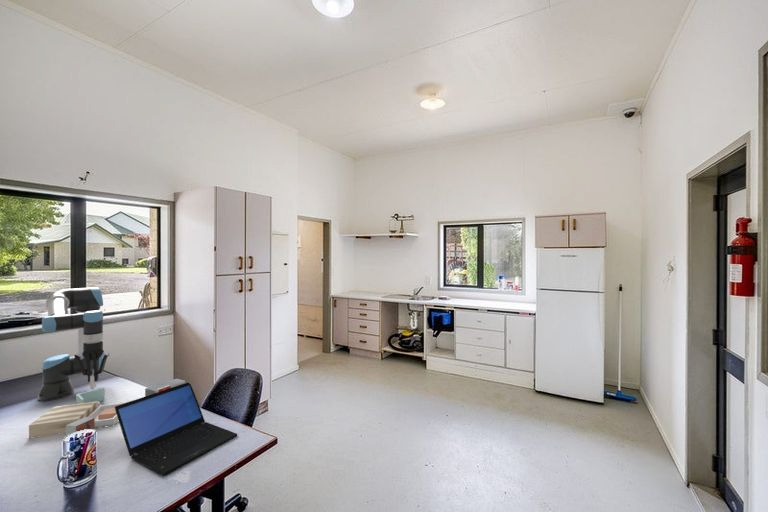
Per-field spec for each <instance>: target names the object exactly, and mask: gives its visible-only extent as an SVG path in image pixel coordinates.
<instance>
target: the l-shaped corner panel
mask: <svg viewBox="0 0 768 512" xmlns="http://www.w3.org/2000/svg"><path fill="white" fill-rule="evenodd" d="M75 395H76V397H75V401H76V403H75V404H80V403H88V402H96V401H98V407H99V406H101V401H104V400H105V387H100V388H96V389H95V388H94V389H90V390H87V391H84V392H80V393H76V394H75Z"/></svg>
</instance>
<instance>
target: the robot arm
mask: <svg viewBox="0 0 768 512" xmlns="http://www.w3.org/2000/svg"><path fill="white" fill-rule="evenodd" d="M101 290H102V289H100V288H99V287H79V288H78V287H77V288H66V289H61V290H58V291H56V292H54V293H53V294H51V295H50V296H49V297H48V298H47V299H46V301H45V307H46V309H47V316H43V317H42V319H41V330H42V332H43V333H47V332H50V333H51V332H53V333H54V332H57V331H58V332H59V331H67V330H77V329H78V330H77V331H78V332H77V350H76V351H75V352H74V355H70V354H69V353H65V354H58V355H55V356H54V355H53V356H52V357H51V356H50V357H48V358H47V359H45V360H43V362H42V368H41V370H42V385H41V388H40V390H39V393H38V394H37V400H38V401H41V402H47V401H48V402H49V401H54V400H59V399H63V398H66V397H69V396H70V395H73V394H74V392H75V391H74V386H73V385H72V382H71V376H76V375H81V374H82V375H83V376H87V382H88V383H89V389H90V390H95V388H97V382H98V381H99V376H100V375H101V374H102V373H103V372H104V369H105V366H106V363H107V359H108V357H109V356H110V353H106V352H105V351H104V342H103V341H104V340H103V339H104V327H103V325H104V313H103V311H102V310H101V307H102V306H104V300H103V299H104V298H103V293H102V291H101ZM68 309H74V311H75V312H76V313H73V314H72V313H71V314H68V313H69V312H68Z"/></svg>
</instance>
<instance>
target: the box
mask: <svg viewBox="0 0 768 512" xmlns="http://www.w3.org/2000/svg"><path fill="white" fill-rule="evenodd" d="M127 402H128V401H127ZM127 402H119V403H111V404H110V403H108V404H102V405H101V404H100V405H99V406H98V408H97V409H96V410H95V411H94V412H92V413H91V414H90V415H89V416H88V417H91V418H95V428H96V429H99V428H98V427H102V428H106V427H105V426H109V427H114V426H115V425H116V424H117V423H118V422H119V421H118V417H117V414H116V415H115V416H114V417H113V418H111V419H104V420H98V415H99V414H100V413H101V412H102V411H103V410H104V409H110V408H115V406H118V405H121V404H124V403H127ZM117 421H118V422H117ZM113 425H114V426H113Z"/></svg>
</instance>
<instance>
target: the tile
mask: <svg viewBox="0 0 768 512" xmlns="http://www.w3.org/2000/svg"><path fill="white" fill-rule="evenodd" d="M115 415H116V410H115V408H110V409H104V410H103V411H102V412H101V413H100V414H99V415H98V420H104V419H111V418H113V417H114V416H115Z"/></svg>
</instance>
